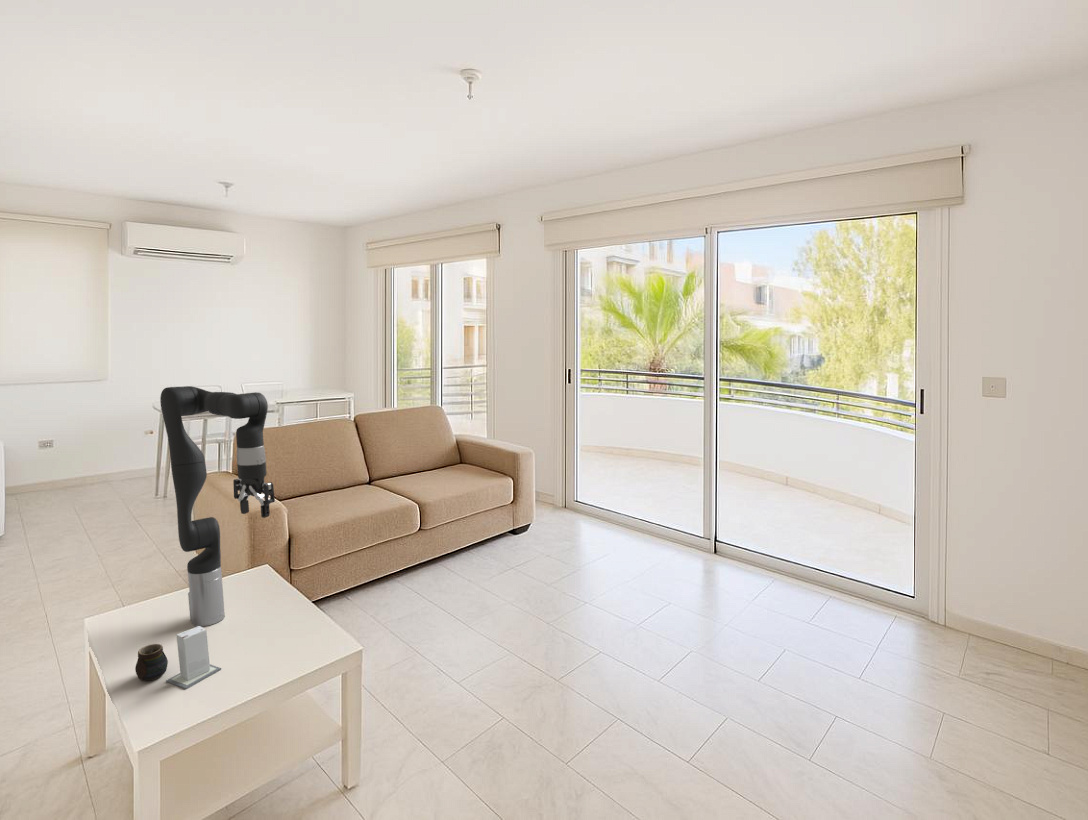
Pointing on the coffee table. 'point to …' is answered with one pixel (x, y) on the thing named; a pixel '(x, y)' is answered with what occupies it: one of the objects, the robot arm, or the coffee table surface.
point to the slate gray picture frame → (185, 684)
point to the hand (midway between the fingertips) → (255, 515)
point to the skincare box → (193, 652)
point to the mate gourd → (151, 662)
